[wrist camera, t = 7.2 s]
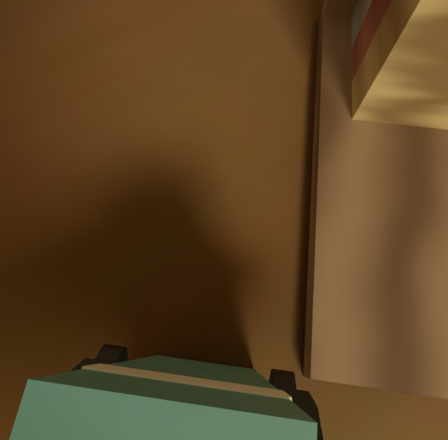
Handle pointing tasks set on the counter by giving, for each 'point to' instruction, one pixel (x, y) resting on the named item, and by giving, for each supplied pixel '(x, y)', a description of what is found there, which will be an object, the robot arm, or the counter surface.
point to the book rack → (380, 198)
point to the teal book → (159, 404)
